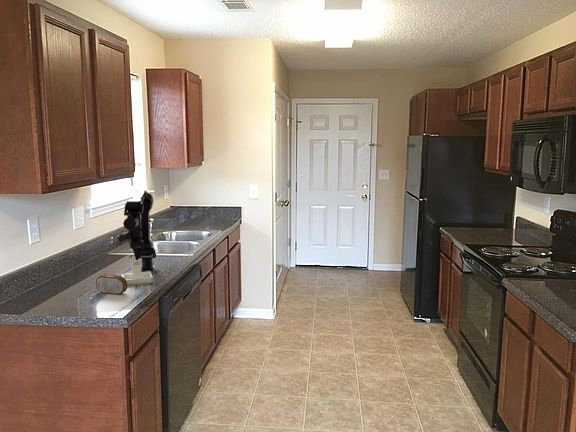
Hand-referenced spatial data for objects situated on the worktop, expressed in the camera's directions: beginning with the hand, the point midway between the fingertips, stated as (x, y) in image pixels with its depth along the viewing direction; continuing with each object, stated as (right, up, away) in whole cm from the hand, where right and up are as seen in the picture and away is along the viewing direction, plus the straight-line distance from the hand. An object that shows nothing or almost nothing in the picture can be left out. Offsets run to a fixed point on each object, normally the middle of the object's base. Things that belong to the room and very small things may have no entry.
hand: (136, 257), depth 230 cm
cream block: (0, -11, +1) cm, 11 cm away
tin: (-6, -15, -17) cm, 23 cm away
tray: (0, -12, +1) cm, 12 cm away
